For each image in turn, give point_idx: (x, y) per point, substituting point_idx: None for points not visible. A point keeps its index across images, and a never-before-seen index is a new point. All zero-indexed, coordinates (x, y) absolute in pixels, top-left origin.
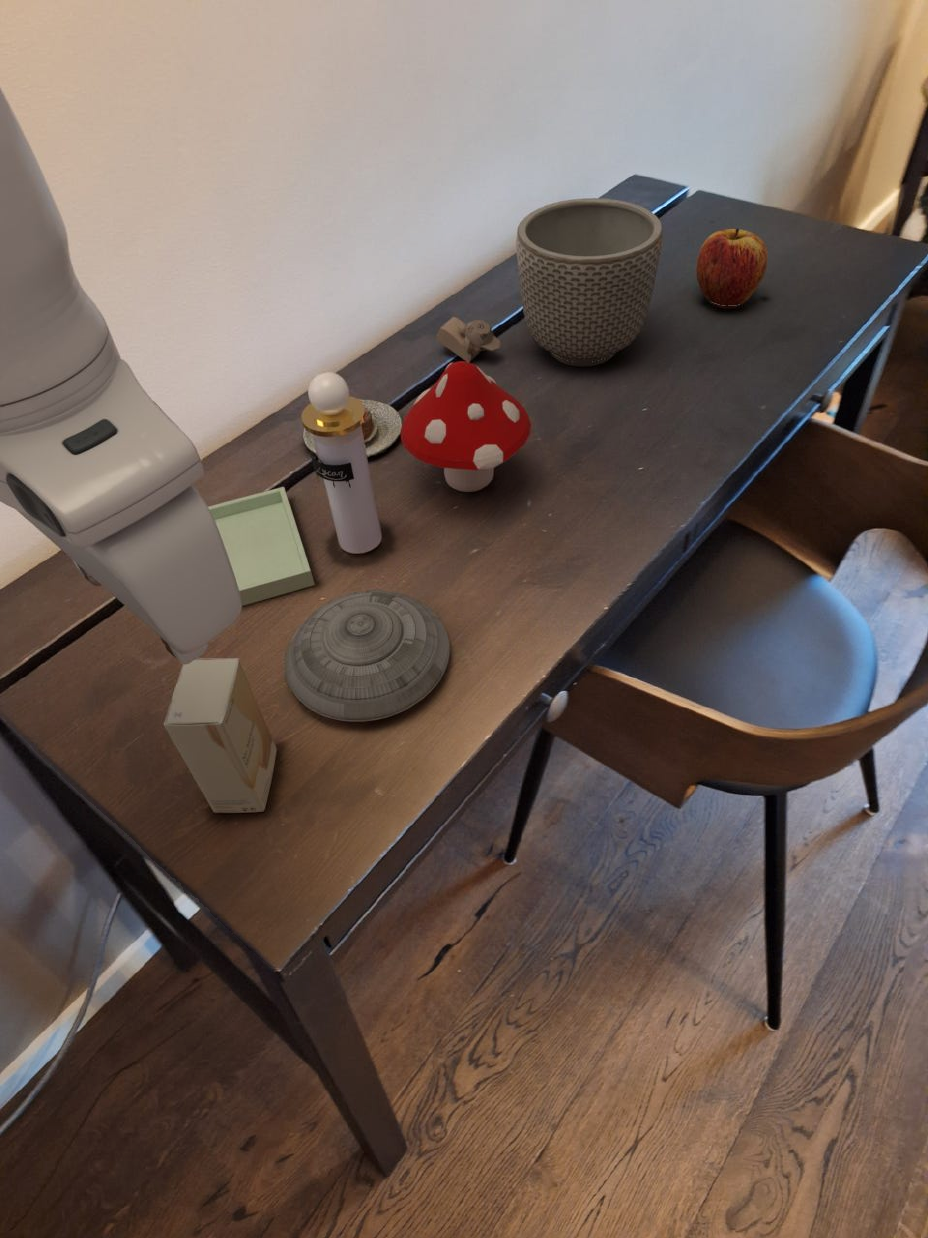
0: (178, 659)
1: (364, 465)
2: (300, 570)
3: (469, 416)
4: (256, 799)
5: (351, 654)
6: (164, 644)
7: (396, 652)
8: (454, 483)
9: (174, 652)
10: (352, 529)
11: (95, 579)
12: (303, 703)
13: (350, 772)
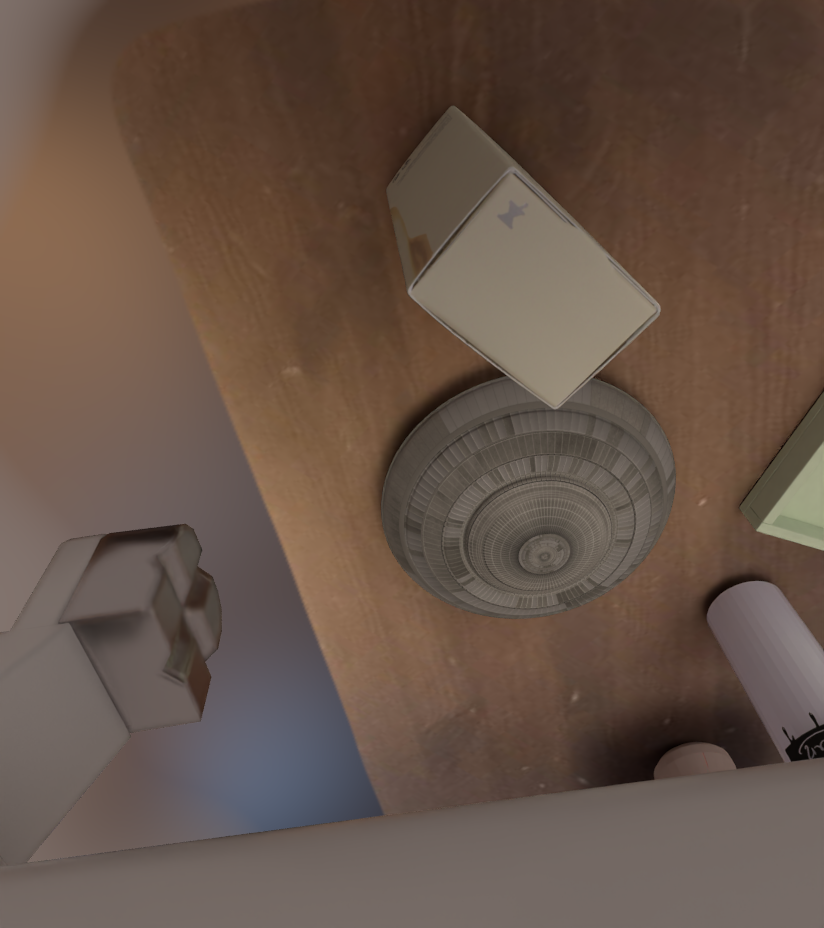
0: (64, 554)
1: None
2: (772, 519)
3: None
4: (389, 199)
5: (508, 507)
6: (156, 561)
7: (460, 556)
8: (693, 755)
9: (50, 587)
10: (748, 634)
11: (389, 860)
12: None
13: (356, 355)
